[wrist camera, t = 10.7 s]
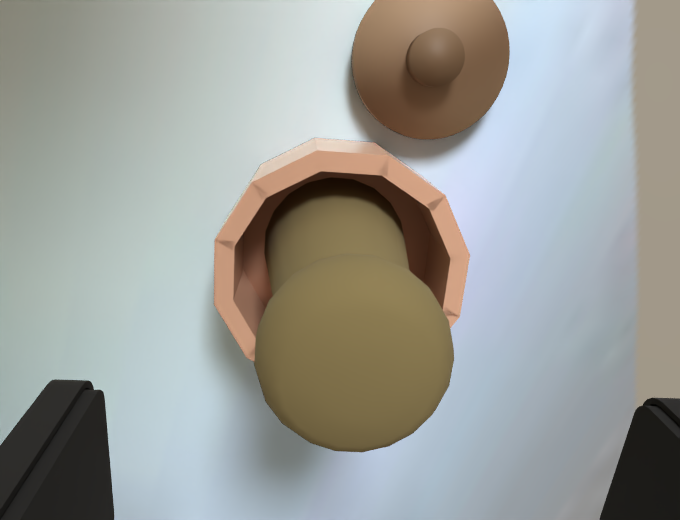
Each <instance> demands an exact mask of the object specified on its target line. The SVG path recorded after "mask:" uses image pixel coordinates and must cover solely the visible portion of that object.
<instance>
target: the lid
mask: <svg viewBox="0 0 680 520" xmlns="http://www.w3.org/2000/svg"><path fill="white" fill-rule="evenodd" d="M508 65H509V39H508V32H507V29H506V25H505V22H504V20H503V17H502V15H501V13H500V11H499V9H498V7H497V6H496V4H495V3H494V1H493V0H375V1H374V2H373V4H372V5H371V6H370V8H369V9H368V11H367V12H366V14H365V15H364V17H363V19H362V21H361V23H360V25H359V27H358V30H357V32H356V35H355V39H354V43H353V50H352V72H353V78H354V83H355V86H356V89H357V92H358V94H359V96H360V98H361V100H362V102H363V104H364V105H365V107H366V108H367V110H368V111H369V112H370V113H371V114H372V115H373V116H374V118H375V119H377V120H378V121H379V122H380V123H381V124H383V125H384V126H386V127H387V128H389V129H391V130H393V131H395V132H397V133H399V134H402V135H404V136H408V137H411V138H417V139H439V138H444V137H448V136H452V135H454V134H456V133H459V132H461V131H463V130H465V129H466V128H468V127H470V126H471V125H473V124H474V123H475V122H477V121H478V120H479V119H480V118H481V117H482V116H483V115H484V114H485V113H486V112H487V111H488V110H489V108H490V107H491V106H492V105H493V103H494V101H495V100H496V98H497V97H498V95H499V93H500V91H501V89H502V87H503V84H504V81H505V78H506V74H507V70H508Z"/></svg>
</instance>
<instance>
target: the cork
mask: <svg viewBox="0 0 680 520" xmlns="http://www.w3.org/2000/svg"><path fill="white" fill-rule="evenodd" d="M264 254H265V259H266V264H267V269H268V275H269V280H270V285H271V290H272V295H273V297H272V298H271V299H270V300H269V302H268V304H267V307H266V309H265V311H264V314H263V316H262V318H261V321H260V323H259V325H258V329H257V333H256V342H255V360H254V366H255V369H256V372H257V375H258V379H259V382H260V385H261V388H262V391H263V395H264V398H265V401H266V403H267V404H268V405H269V407H270V408H271V409H272V411H273V412H274V413H275V415H276V416H277V417H278V419H279V420H280V421H281V423H282V424H284V425H285V426H287V427H288V428H290V429H291V430H293V431H294V432H295V433H297V434H298V435H300V436H301V437H303V438H304V439H306V440H307V441H309V442H310V443H312V444H316V445H319V446H322V447H325V448H328V449H331V450H334V451H348V452H365V451H369V450H374V449H378V448H383V447H387V446H390V445H392V444H394V443H396V442H398V441H399V440H401V439H403V438H405V437H407V436H409V435H411V434H412V433H414V432H415V431H416V430H417V429H418V428H419V427H420V426H421V425H422V424H423V423H424V422H425V421H426V420H427V419H428V418H429V417H430V416H431V415H432V414H433V412H434V411H435V410H436V408H437V406H438V404H439V403H440V401H441V399H442V397H443V395H444V394H445V392H446V390H447V388H448V387H449V383H450V378H451V372H452V367H453V361H454V350H453V343H452V337H451V331H450V325H449V320H448V319H447V317H446V315H445V313H444V312H443V310H442V308H441V306H440V305H439V303H438V301H437V299H436V298H435V296H434V294H433V293H432V291H431V290H430V288H429V287H428V286H427V285H426V284H424V283H423V282H422V281H421V280H420V279H419V278H417V277H416V276H415V275H414V274H413V273H412V272H410V270H409V264H408V258H407V252H406V246H405V240H404V235H403V229H402V224H401V220H400V219H399V217H398V215H397V213H396V212H395V210H394V208H393V206H392V205H391V203H390V202H389V201H388V200H387V199H386V198H385V197H383V196H382V195H381V194H380V193H379V192H378V191H377V190H376V189H374V188H373V187H370V186H368V185H366V184H363V183H361V182H359V181H356V180H354V179H345V178H333V177H329V178H325V179H321V180H316V181H312V182H308V183H306V184H304V185H303V186H301V187H299V188H298V189H296V190H294V191H293V192H291V193H289V194H288V195H287V196H286V197H285V199H284V200H283V201H282V202H281V203H280V204H279V206H278V207H277V208H276V209H275V210H274V212H273V214H272V216H271V219H270V221H269V224H268V226H267V229H266V231H265V248H264Z"/></svg>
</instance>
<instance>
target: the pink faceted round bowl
mask: <svg viewBox="0 0 680 520" xmlns="http://www.w3.org/2000/svg"><path fill="white" fill-rule="evenodd" d="M329 177H333V178H345V179H354V180H356V181H359V182H361V183H363V184H366V185H368V186H370V187H373V188H374V189H376V190H377V191H378V192H379V193H380V194H381V195H382V196H383V197H385V198H386V199H387V200H388V201H389V202H390V203H391V205H392V206H393V208H394V210H395V212H396V213H397V215H398V217H399V219H400V220H401V224H402V229H403V235H404V240H405V246H406V252H407V258H408V264H409V270H410V272H412V273H413V274H414V275H415V276H416V277H417V278H419V279H420V280H421V281H422V282H423V283H424V284H426V285H427V286H428V287H429V288H430V290H431V291H432V293H433V294H434V296H435V298H436V299H437V301H438V303H439V305H440V306H441V308H442V310H443V312H444V313H445V315H446V317H447V319H448V320H449V325H450V328H451V327H452V325H453V324H454V323H455V322H456V321H457V319H458V318H459V317H460V312H461V306H462V300H463V294H464V288H465V282H466V276H467V270H468V264H469V258H470V254H469V252H468V249H467V247H466V244H465V242H464V240H463V237H462V235H461V232H460V230H459V227H458V225H457V223H456V220H455V218H454V215H453V213H452V210H451V208H450V206H449V203H448V201H447V198H446V196H445V195H444V194H443V193H442V192H441V191H439V190H438V189H437V188H436V187H435V186H433V185H432V184H431V183H430V182H429V181H427V180H426V179H425V178H424V177H423V176H421V175H420V174H418V173H417V172H416V171H414V170H413V169H411V168H410V167H409V166H407V165H406V164H404V163H403V162H402V161H400V160H399V159H397V158H396V157H395V156H393V155H392V154H390V153H389V152H388V151H386V150H385V149H383V148H382V147H380V146H379V145H378V144H376V143H375V142H363V141H350V140H337V139H323V138H313V139H311V140H309V141H307V142H305V143H303V144H301V145H299V146H297V147H295V148H293V149H291V150H289V151H287V152H285V153H283V154H281V155H279V156H277V157H275V158H273V159H271V160H269V161H267V162H265V163H263V164H261V165H260V166H259V168H258V169H257V171H256V173H255V174H254V176H253V177H252V179H251V180H250V182H249V184H248V185H247V187H246V188H245V190H244V191H243V193H242V194H241V196H240V198H239V199H238V201H237V202H236V204H235V205H234V207H233V208H232V210H231V212H230V213H229V215H228V217H227V218H226V220H225V222H224V224H223V226H222V227H221V229H220V231H219V233H218V235H217V236H216V238H215V252H214V305H215V307H216V308H217V310H218V312H219V313H220V315H221V317H222V318H223V320H224V322H225V323H226V325H227V326H228V328H229V330H230V331H231V333H232V335H233V336H234V338H235V340H236V341H237V343H238V344H239V346H240V348H241V349H242V351H243V353H244V354H245V356H246V358H248V359H250V360H252V361H253V362H254V360H255V342H256V333H257V329H258V325H259V323H260V321H261V318H262V316H263V314H264V311H265V309H266V307H267V304H268V302H269V300H270V299H271V298H272V297H273V295H272V290H271V285H270V280H269V275H268V269H267V264H266V259H265V254H264V248H265V231H266V229H267V226H268V224H269V221H270V219H271V216H272V214H273V212H274V210H275V209H276V208H277V207H278V206H279V204H280V203H281V202H282V201H283V200H284V199H285V197H286V196H287V195H288V194H289V193H291V192H293V191H294V190H296V189H298V188H299V187H301V186H303V185H304V184H306V183H308V182H312V181H316V180H321V179H325V178H329Z"/></svg>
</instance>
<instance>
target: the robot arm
mask: <svg viewBox="0 0 680 520" xmlns="http://www.w3.org/2000/svg"><path fill="white" fill-rule="evenodd" d="M0 520H114V506H113V494H112V482H111V470H110V458H109V446H108V434H107V422H106V410H105V398H104V393H103V391H101V390H94V389H93V385H92V383H91V382H90V381H83V380H52V381H50V382H49V383H48V384H47V386H46V387H45V388H44V390H43V391H42V392H41V393H40V395H39V396H38V397H37V399H36V400H35V401H34V403H33V404H32V405H31V406H30V408H29V409H28V410H27V412H26V413H25V414H24V416H23V417H22V418H21V419H20V421H19V422H18V423H17V425H16V426H15V427H14V428H13V430H12V431H11V432H10V434H9V435H8V436H7V438H6V439H5V440H4V441H3V443H2V444H1V445H0ZM600 520H680V399H675V398H674V399H673V398H650V399H647V400H646V401H645V402H644V404H643V406H639V407H638V408H637V409H636V411H635V413H634V416H633V419H632V422H631V425H630V428H629V431H628V434H627V437H626V440H625V443H624V446H623V449H622V452H621V455H620V458H619V461H618V464H617V468H616V471H615V474H614V477H613V480H612V483H611V486H610V489H609V492H608V495H607V498H606V501H605V504H604V507H603V510H602V513H601V516H600Z"/></svg>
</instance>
